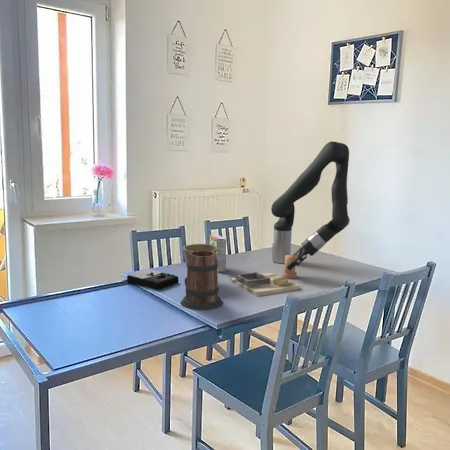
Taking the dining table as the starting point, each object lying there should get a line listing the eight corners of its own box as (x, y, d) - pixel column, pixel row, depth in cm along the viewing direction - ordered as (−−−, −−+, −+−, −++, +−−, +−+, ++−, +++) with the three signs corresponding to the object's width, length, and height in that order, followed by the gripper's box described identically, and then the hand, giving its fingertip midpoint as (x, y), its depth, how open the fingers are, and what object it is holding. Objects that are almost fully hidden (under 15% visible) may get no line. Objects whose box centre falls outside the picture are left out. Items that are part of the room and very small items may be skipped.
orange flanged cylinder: (280, 275, 221) (280, 255, 219) (291, 274, 224) (291, 254, 222) (288, 279, 216) (289, 258, 214) (299, 277, 219) (300, 257, 217)
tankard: (231, 306, 179) (232, 255, 175) (190, 313, 171) (190, 260, 168) (205, 289, 199) (205, 243, 196) (168, 294, 192) (167, 246, 188)
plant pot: (179, 279, 213) (179, 245, 210) (210, 276, 218) (210, 243, 215) (188, 288, 199) (188, 252, 196) (221, 285, 204) (221, 250, 202)
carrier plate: (230, 281, 211) (230, 273, 210) (271, 275, 221) (271, 267, 220) (256, 296, 192) (257, 286, 191) (299, 288, 202) (300, 279, 201)
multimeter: (158, 291, 196) (158, 280, 196) (126, 282, 207) (126, 272, 207) (178, 284, 207) (178, 273, 206) (147, 276, 218) (147, 265, 217)
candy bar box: (208, 266, 235) (208, 234, 232) (217, 265, 237) (218, 234, 234) (216, 272, 225) (216, 239, 222) (226, 271, 226) (226, 238, 223)
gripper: (307, 234, 223) (282, 257, 226) (309, 240, 209) (282, 264, 212) (318, 246, 223) (292, 268, 226) (320, 253, 209) (293, 276, 212)
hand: (287, 266), depth 219 cm, fingers open, 8 cm apart
